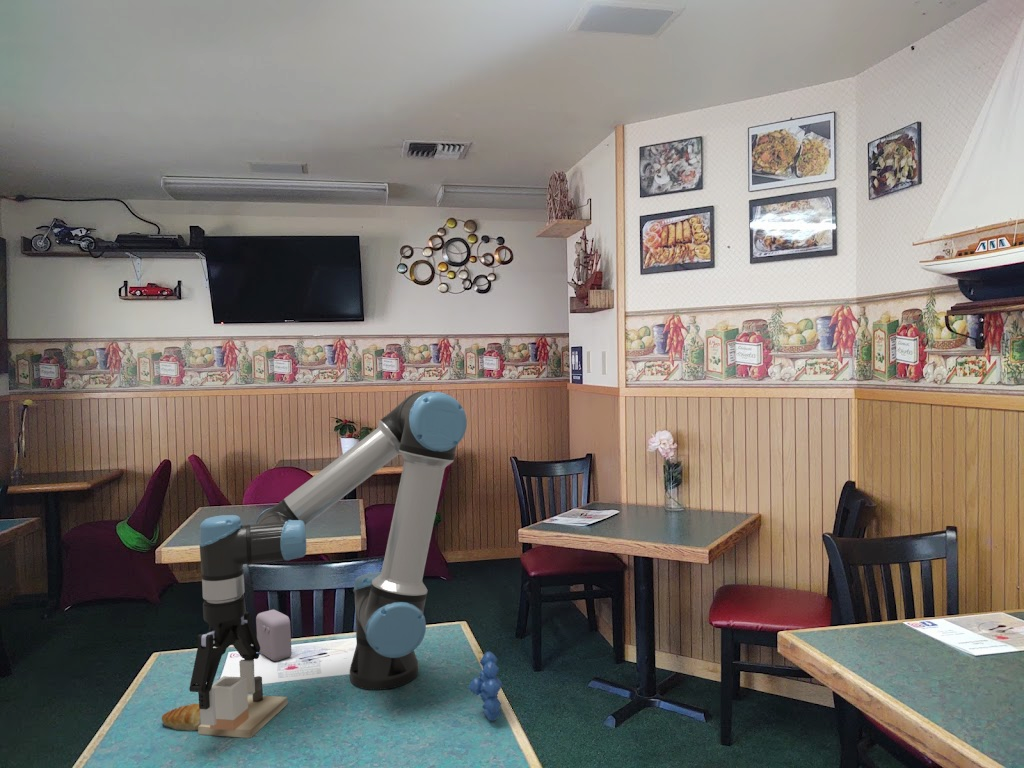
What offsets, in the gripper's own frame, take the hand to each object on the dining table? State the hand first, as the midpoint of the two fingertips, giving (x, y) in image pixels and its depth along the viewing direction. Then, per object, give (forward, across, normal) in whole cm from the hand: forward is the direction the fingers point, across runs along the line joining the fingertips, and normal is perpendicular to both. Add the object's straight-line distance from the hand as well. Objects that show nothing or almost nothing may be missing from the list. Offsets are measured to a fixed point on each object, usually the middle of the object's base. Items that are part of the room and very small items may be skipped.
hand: (229, 707), depth 143 cm
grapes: (+5, -13, +48) cm, 50 cm away
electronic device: (+5, -36, -11) cm, 38 cm away
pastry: (+5, -2, -10) cm, 11 cm away
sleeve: (+3, 0, 0) cm, 3 cm away
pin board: (+5, -5, 0) cm, 7 cm away
